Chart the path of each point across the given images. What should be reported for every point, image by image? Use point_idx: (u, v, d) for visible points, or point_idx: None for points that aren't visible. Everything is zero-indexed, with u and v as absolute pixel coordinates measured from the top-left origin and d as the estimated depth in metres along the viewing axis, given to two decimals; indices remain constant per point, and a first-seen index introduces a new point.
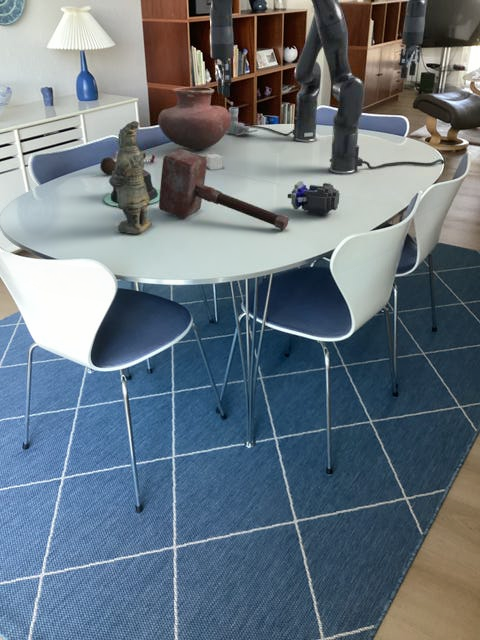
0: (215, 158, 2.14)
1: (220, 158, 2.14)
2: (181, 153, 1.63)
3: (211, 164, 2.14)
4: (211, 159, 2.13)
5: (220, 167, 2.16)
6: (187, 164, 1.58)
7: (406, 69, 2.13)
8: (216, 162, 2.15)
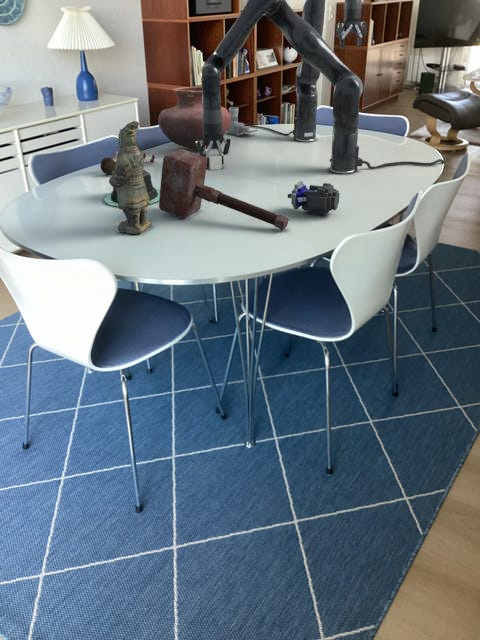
0: (215, 158, 2.14)
1: (220, 158, 2.14)
2: (181, 153, 1.63)
3: (211, 164, 2.14)
4: (211, 159, 2.13)
5: (220, 167, 2.16)
6: (187, 164, 1.58)
7: (342, 40, 2.54)
8: (216, 162, 2.15)
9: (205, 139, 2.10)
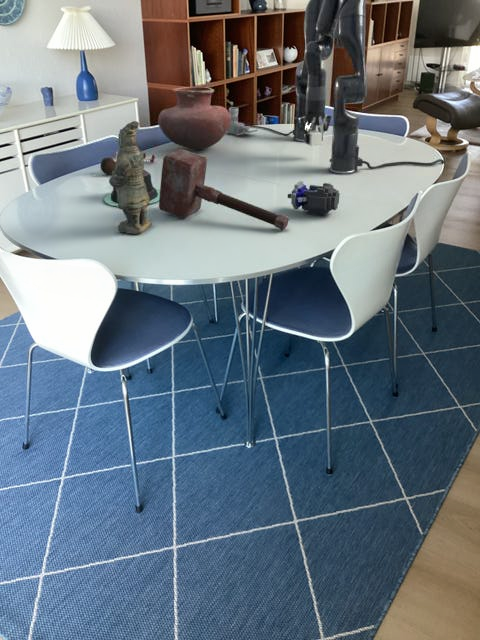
0: (316, 134, 2.18)
1: (321, 134, 2.19)
2: (181, 153, 1.63)
3: (312, 140, 2.19)
4: (312, 135, 2.18)
5: (320, 143, 2.21)
6: (187, 164, 1.58)
7: (339, 40, 2.56)
8: (317, 138, 2.19)
9: (308, 116, 2.15)
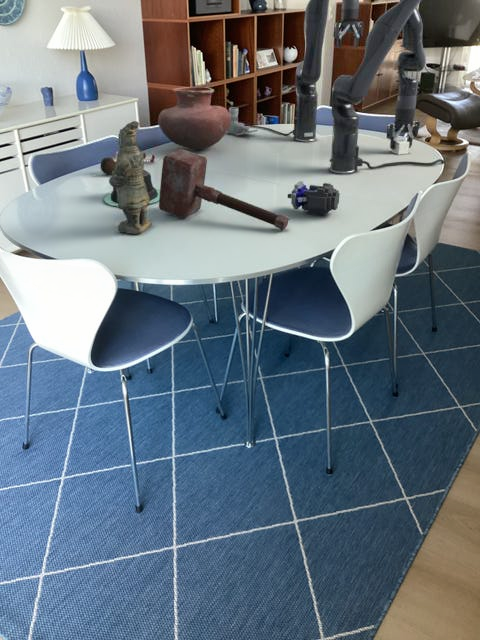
0: (404, 143, 2.28)
1: (408, 143, 2.28)
2: (181, 153, 1.63)
3: (400, 149, 2.28)
4: (400, 144, 2.28)
5: (407, 152, 2.30)
6: (187, 164, 1.58)
7: (339, 40, 2.56)
8: (404, 147, 2.29)
9: (398, 123, 2.24)
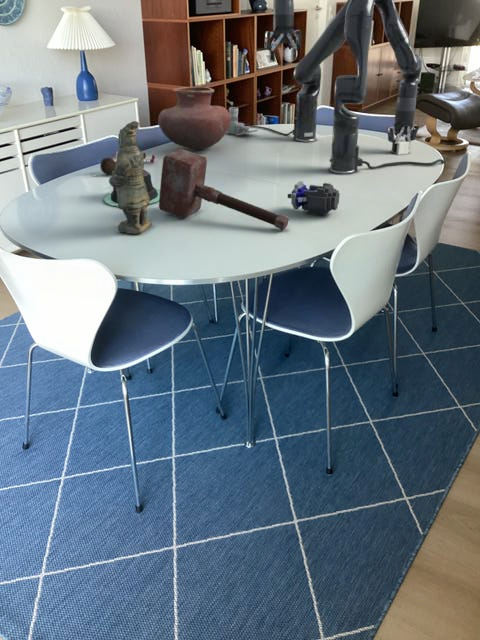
0: (404, 143, 2.28)
1: (408, 143, 2.28)
2: (181, 153, 1.63)
3: (400, 149, 2.28)
4: (400, 144, 2.28)
5: (407, 152, 2.30)
6: (187, 164, 1.58)
7: (396, 145, 2.29)
8: (404, 147, 2.29)
9: (276, 32, 2.07)
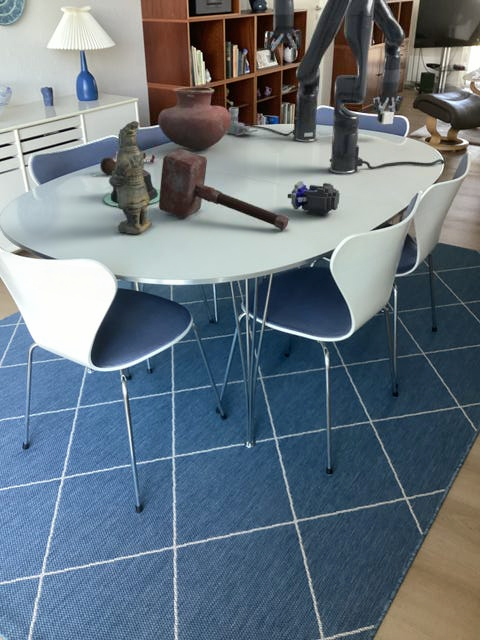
0: (388, 114, 2.42)
1: (392, 114, 2.42)
2: (181, 153, 1.63)
3: (384, 119, 2.42)
4: (385, 114, 2.41)
5: (391, 122, 2.44)
6: (187, 164, 1.58)
7: (381, 115, 2.43)
8: (389, 117, 2.43)
9: (276, 32, 2.07)
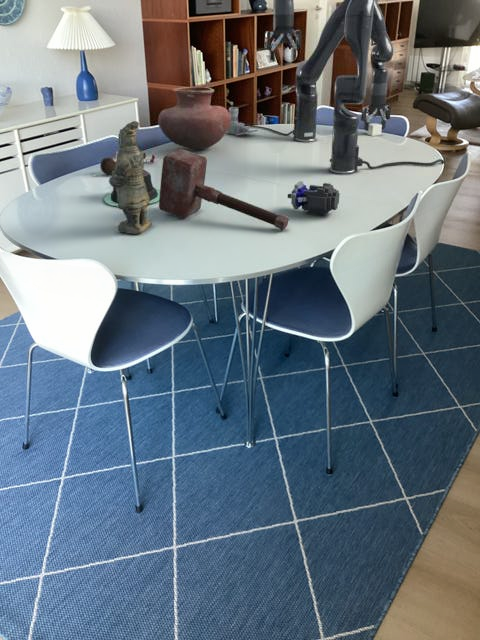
0: (377, 126, 2.58)
1: (381, 126, 2.59)
2: (181, 153, 1.63)
3: (373, 131, 2.59)
4: (374, 127, 2.58)
5: (379, 134, 2.61)
6: (187, 164, 1.58)
7: (367, 124, 2.58)
8: (377, 129, 2.59)
9: (276, 32, 2.07)
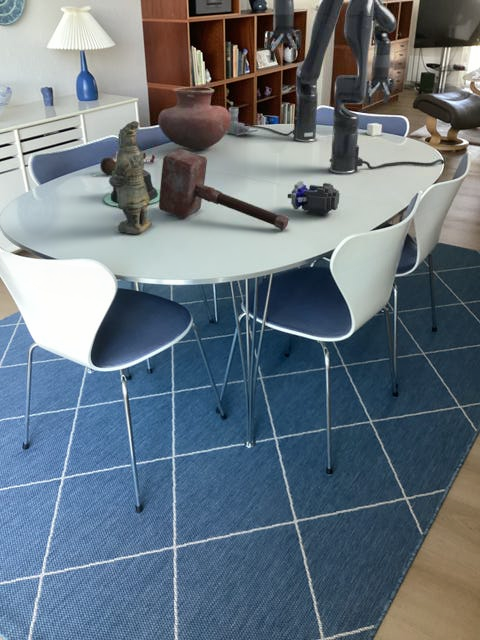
0: (377, 126, 2.58)
1: (381, 126, 2.59)
2: (181, 153, 1.63)
3: (373, 131, 2.59)
4: (374, 127, 2.58)
5: (379, 134, 2.61)
6: (187, 164, 1.58)
7: (369, 97, 2.52)
8: (377, 129, 2.59)
9: (276, 32, 2.07)
